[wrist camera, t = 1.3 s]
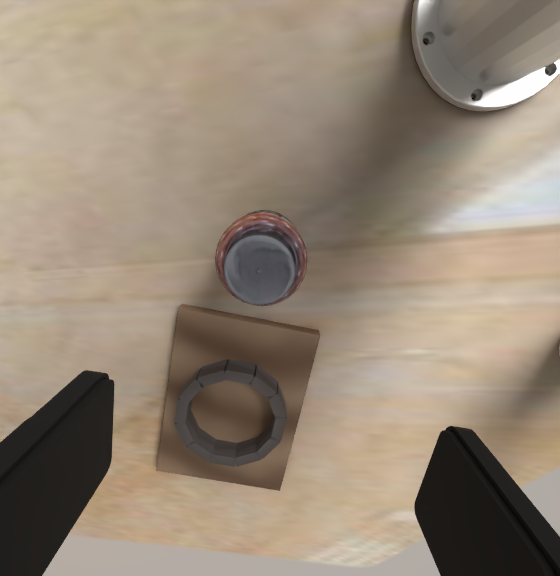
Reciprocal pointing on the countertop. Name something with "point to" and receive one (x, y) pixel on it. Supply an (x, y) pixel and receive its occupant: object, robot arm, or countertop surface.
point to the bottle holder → (234, 396)
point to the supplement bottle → (261, 258)
